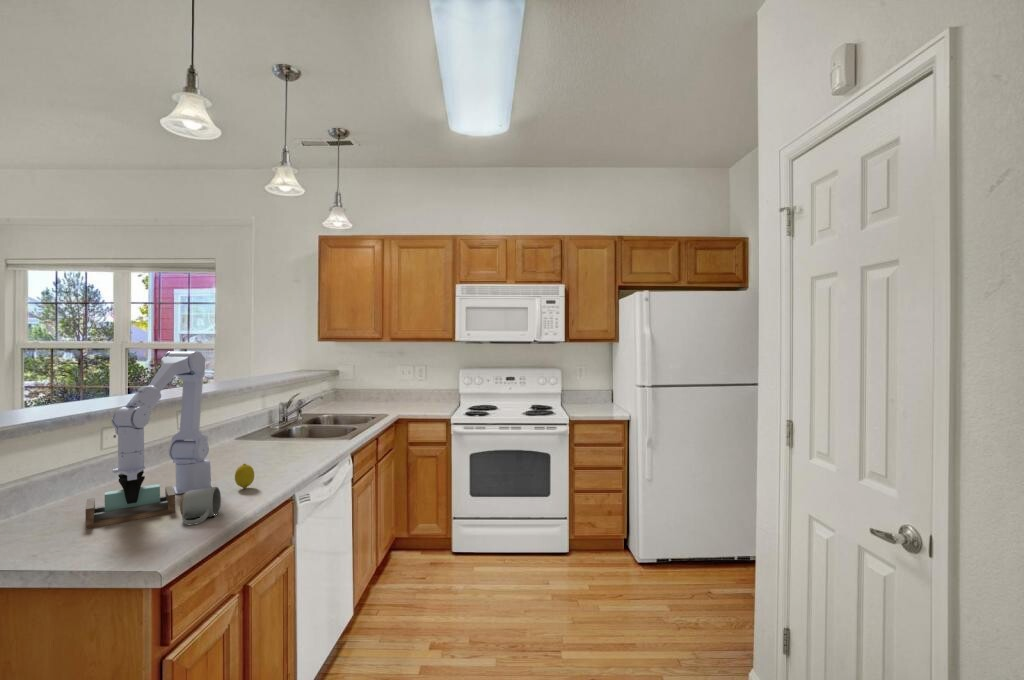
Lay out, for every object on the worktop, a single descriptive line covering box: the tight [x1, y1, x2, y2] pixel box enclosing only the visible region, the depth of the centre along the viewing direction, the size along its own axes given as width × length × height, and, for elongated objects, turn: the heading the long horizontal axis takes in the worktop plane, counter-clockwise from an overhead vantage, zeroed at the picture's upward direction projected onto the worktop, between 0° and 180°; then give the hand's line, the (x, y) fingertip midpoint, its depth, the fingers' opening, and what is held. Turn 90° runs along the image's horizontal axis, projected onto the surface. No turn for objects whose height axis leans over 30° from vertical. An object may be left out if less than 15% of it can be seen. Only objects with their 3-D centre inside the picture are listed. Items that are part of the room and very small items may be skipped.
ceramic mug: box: [179, 486, 222, 525], centre depth 135 cm, size 11×8×8 cm
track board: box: [85, 485, 176, 529], centre depth 138 cm, size 19×10×5 cm, turn 128°
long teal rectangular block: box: [104, 483, 161, 511], centre depth 138 cm, size 12×3×6 cm, turn 128°
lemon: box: [234, 463, 255, 489], centre depth 161 cm, size 6×6×8 cm
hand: (131, 500), depth 138 cm, fingers open, 4 cm apart
